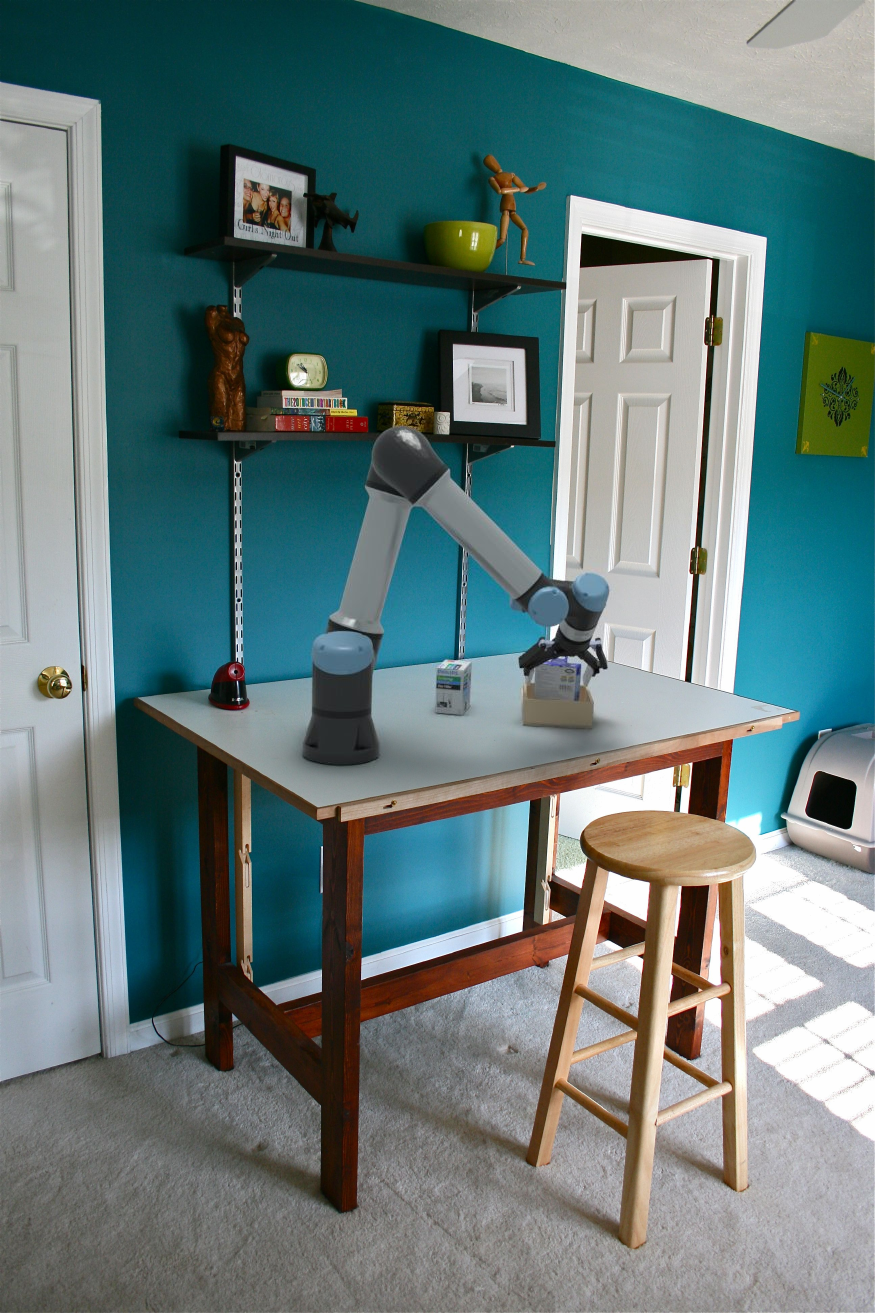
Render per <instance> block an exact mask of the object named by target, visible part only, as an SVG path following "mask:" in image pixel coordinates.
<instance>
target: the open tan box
mask: <svg viewBox="0 0 875 1313" xmlns="http://www.w3.org/2000/svg"><path fill="white" fill-rule="evenodd" d="M534 683H535V682H531V683H530V686H526V681H524V682H522V688H521V689H520V694H521V709H522V710H521V711H522V724H523V726H527V727H528V726H530V727H548V728H565V729H567V728H568V729H583V728H584V729H585V730H588V729H589V730H593V722H594V720H593V719H594V706H595V705H594V704H595V702H594V699H593V696H592V694H591V692H590V689H589V685H588V686H587V687H584V684H580V694H579V701H561V700H541V699H534Z"/></svg>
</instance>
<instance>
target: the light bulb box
mask: <svg viewBox="0 0 875 1313" xmlns="http://www.w3.org/2000/svg"><path fill="white" fill-rule="evenodd" d="M472 664H473V663H472V662H471V661H463V660H453V659H445V660H443V661H442V662H441V664H440V665H438V666H437V667H436V674H435V676H436V677H435V678H436V680H435V683H436V684H435V704H434V705H435V707H434V708H435V709H434V710H435V713H436V714H447V715H457V716H463V715H464V714H465V712H466V711H467V710H468V708H469V707H470V706H471V688H472V685H471V684H472Z"/></svg>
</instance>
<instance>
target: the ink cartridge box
mask: <svg viewBox="0 0 875 1313" xmlns="http://www.w3.org/2000/svg"><path fill="white" fill-rule="evenodd" d="M555 653H556V652H555ZM568 659H569V656H566V657H564V658H560V657H558V658H557V659H551V660H549V661H547V662H545V663H543V664H541V665H539V666H537V667H535V668H534V670H535V671H534V682H533V683H534V699H541V700H561V701H579V694H580V685H581V679H582V677H581V676H582V664H581V663H575V662H568Z"/></svg>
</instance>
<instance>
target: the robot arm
mask: <svg viewBox="0 0 875 1313" xmlns="http://www.w3.org/2000/svg"><path fill="white" fill-rule="evenodd" d="M364 487H365V488H364V489H365V491H366V492H367V493H368V496H369V499H368V501H367V506H366V509H365V514H364V517H363V520H362V523H361V524H362V525H361V528H360V531H359V537H358V539H357V543H356V548H355V551H354V553H353V559H352V562H351V564H350V569H349V571H348V572H349V573H348V576H347V580H346V584H345V587H344V591H343V595H342V598H341V602H340V604H339V605H340V606H339V609H338V610H337V611H335V612H334V613H332V614H330V615H329V618H328V622H327V625H326V629H325V633H322V634H320V635H318V636H317V637H316V638H315V639H314V641H313V644H312V650H311V654H310V656H311V657H310V658H311V661H312V663H311V664H312V672H311V675H312V676H311V679H312V680H311V686H312V688H311V716H310V720H309V723H308V725H307V728H306V731H305V734H304V737H303V739H302V740H303V741H302V748H301V749H302V756H303V757H304V758H306V759H307V760H309V761H312V762H316V763H320V764H325V765H335V766H336V765H341V766H343V765H346V766H347V765H357V764H363V763H368V762H371V761H374V760H375V759H377V758H378V757H379V756H380V748H381V747H380V745H381V744H380V740H379V737H378V733H377V731H376V727H375V724H374V721H373V717H372V702H373V700H372V699H373V675H374V670H375V668H376V665H377V664H376V663H377V661H378V655H379V651H380V647H381V644H382V642H383V641H382V640H383V636H384V633H385V629H384V628H383V626H382V623H381V622H380V620H381V617H382V613H383V609H384V606H385V602H386V599H387V596H388V591H389V589H390V584H391V580H392V577H393V574H394V570H395V567H396V563H397V561H398V556H399V553H400V549H401V545H402V541H403V540H404V539H403V538H404V534H405V530H406V528H407V524H408V521H409V516H410V514H411V510H412V509H413V507H420V508H421V507H422V508H423V509H424V510H425V512H427V513H428V514H429V515H430V516H431V518H433V520H435V521H436V523H438V525H439V526H441V527H442V528H443V530H445V531H446V532H447V533H448V535H449V536H451V537H452V538H453V539H454V540H455V542H457V543H458V545H460V546H461V547H462V548H463V550H464V551H466V552H467V554H469V556H471V557H472V559H473V560H474V561H475V562H477V563H478V564H479V566H480V567H481V568H482V569H483V570H484V571H485V572H486V573H487V574H489V575H490V577H491V578H492V579H493V580H494V581H495V582H496V583H497V584H498V585H499V586H500V587H501V588H502V589H503V590H504V591H505V592H507V594H508V595H509V607H510V609H511V610H513V611H514V612H515V611H516V612H521V614H522V613H523V614H525V613H527V614H528V615H529V617H530V618H531V620H532V621H533V622H535V624H537V625H540V626H542V627H547V628H550V627H551V628H552V627H555V626H556V627H557V626H558V627H557V630H556V633H555V635H554V636H555V637H553V638H552V639H551V640H549V639H548V640H547V639H546V637H545V636H540V637H539V638H538V640H537V642H536V643H535V644H533V645H532V646H531V647H530V648H529V649H527V650H526V651H525V652H524V653H522V654H521V655H520V656H518V667H519V669H523V671H522V672H523V676H524V680H525V681H524V682H526V686H530V683H532V680H533V676H534V675H535V667H537V666H539V665H541V664H543V663H545V662H547V661H551V659H557V658H560V657H563V658H565V657H566V656H568V658H569V657H570V658H575V657H578V659H580V660H582V661H583V662H585V663H586V665H587V666H586V667H585V670H584V672H583V674H582V677H581V679H582V685H584V687H587V686H588V687H589V683H590V681H591V679H592V678H593V677H596V675H598V674H600V672H601V670H600V669H602V670H604V671H605V670H608V668H609V667H608V661H607V657H606V655H605V652H604V651H603V645H602V639H601V637H596V638H595V639H594V640H592V638H593V636H594V633H595V631H596V629H597V626H598V624H599V621H600V619H601V617H602V614H603V612H604V609H605V608H606V607H607V602H608V598H609V595H610V592H611V591H610V587H609V583H608V582H607V580H606V579H605V578H604V577H602V576H601V575H600V574H598V573H595V572H586V573H582V574H579V575H578V576H577V577H576V578H575V579H574V580H562V579H554V578H549V577H548V576H547V575H546V574H545V573H543V571H542V570H541V569H540V568H539V567H538V566H537V565H536V564H535V563H534V562H533V561H532V560H531V559H530V557H529V556H527V554H525V553H524V551H522V550H521V549H520V547H518V545H516V543H515V542H514V541H513V540H512V539H511V538H510V537H509V536H508V535H507V534H506V533H505V532H504V531H503V530H502V529H501V528H500V527H499V526H498V525H497V524H496V523H495V522H494V521H493V520H492V519H491V517H489V516H488V515H487V514H486V513H485V512H484V510H482V509H481V508H480V506H479V505H478V504H476V503H475V501H474V500H473V499H472V498H471V497H470V496H469V495H468V494H467V493H466V492H465V491H464V490H463V489H462V488H461V487H460V486H459V485H458V484H457V483H456V482H455V481H454V480H453V479H452V478H451V469H450V468H449V467H448V466H447V465H446V464H445V463H444V461H443V460H442V459H441V458H440V457H439V456H438V455H437V453H436V452H435V450H434V449H433V447H432V446H431V443H430V442H429V440H428V439H427V438H426V436H425V435H424V434H423V433H422V432H420V431H419V430H417V429H416V428H414V427H411V426H405V425H397V426H392V427H390V428H388V429H386V430H384V431H383V432H382V433H381V434H380V435H379V436H378V437H377V438H376V440H375V442H374V443H373V447H372V450H371V462H370V467H369V469H368V474H367V477H366V481H365V485H364ZM590 648H591V649H592V650H593V652H595V655H596V657H595V656H594V654H592V653H591V652H590V651H589V649H590ZM555 652H556V653H555Z"/></svg>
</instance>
